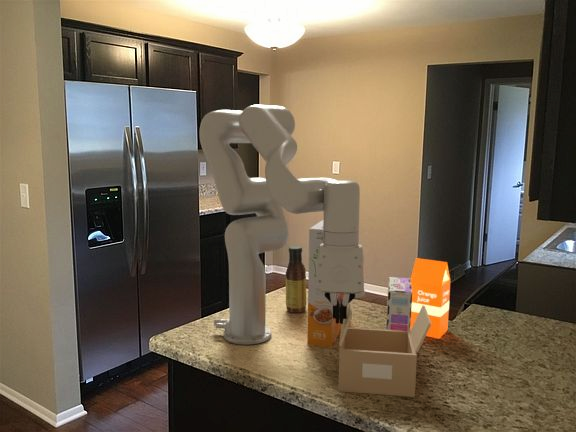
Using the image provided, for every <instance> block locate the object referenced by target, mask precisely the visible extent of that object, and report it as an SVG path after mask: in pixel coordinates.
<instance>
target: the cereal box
mask: <svg viewBox="0 0 576 432" xmlns="http://www.w3.org/2000/svg"><path fill="white" fill-rule="evenodd" d="M308 231H309V232H308V282H307V283H308V285H307V286H308V288H307V343H306V344H307V345H311V346H318V347H319V346H320V347H326V348H332V347H333V345H334V343H335V341H336V340H335V339H337V337H338V336H339V335H340V333H341V325H342V324H340V319H339V323H338V324H336V319H335V318H333V305H332V304H331V302H330V301H329V300H328V299H327V298H326V297H324V296H320V295H317V294H315V291H316V269H317V257H318V250H319V246H320V244H322V243H323V241H322V240H320V239H317V238H316V235H317V233H320V232H322V231H323V219H322V220H320V221H319V222H318V223H316V224H314V225H313V226H311V227H310V228H309V229H308ZM343 296H344V293H337V299H338V300H339V303H341V300H342V299H343ZM348 306H349V304H348V305H347V309H348ZM343 320H344V319H343Z"/></svg>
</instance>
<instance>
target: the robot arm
mask: <svg viewBox="0 0 576 432" xmlns="http://www.w3.org/2000/svg"><path fill="white" fill-rule="evenodd" d="M199 125H200V127H199V143H200V145H201V149H202V152H203V154H204V156H205V158H206V160H207V162H208V164H209V166H210V168H211V169H210V170H211V173H212V177H213V180H214V183H215V187H216V188H215V189H216V191H217V194H218V198H219V201H220V204H221V206H222V209H223V210H224V212H225V213H226V214H228V215H231V216H241V215H250V214H255V215H256V216H251V217H243V218H238V219H236V220H233V221H232V222H230V223H229V224H228V225H227V226H226V228H225V230H224V231H225V232H224V243H225V248H226V253H227V259H228V260H227V261H228V282H229V283H228V284H229V285H228V295H229V296H228V298H229V299H228V301H229V302H228V307H229V309H228V311H229V314H228V315H229V317H227V318H225V319H223V318H216V317H215V318H214V320H213V325H214V326H215V328H216V329H224V330H223V338H224V340H226V341H227V342H229V343H232V344H236V345H243V346H247V345H249V346H250V345H257V344H262V343H265V342H267V341H268V340H269V339H271V337H272V331H271V329H270V328H269V327H267V326H266V317H267V316H266V312H267V311H266V306H267V304H266V294H267V292H266V290H267V289H266V288H267V284H266V281H267V279H266V277H267V275H266V268H265V265H264V263H263V261H262V260H261V258H260V256H259V254H262V253H263V254H264V253H268V252H274V251H277V250H280V249H282V248H284V247H285V246H286V244H287V243H288V239H289V228H288V224H287V221H286V216H285V214H284V210H286V211H287V212H289V213H291V214H295V215H299V214H300V215H301V214H308V213H316V212H323V219H322V220H323V231H322V232H320V233H317V235H316V238H317V239H320V240H322V241H323V243H322V244H320V246H319V250H318V257H317V269H316V291H315V294H317V295H320V296H324V297H326V298H327V299H328V300H329V301H330V302H331V304H332V305H333V318H335V319H336V324H338V323H339V319H340V324H343V319H346V318H347V305H348V306H349V303H350V302H351V301H352V300H353V301H354V300H355V299H356V298H357V299H359V298H363V297H365V296H366V292H365V258H364V251H363V246H362V244H360V242H359V239H360V237H359V236H360V201H361V200H360V199H361V198H360V195H361V194H360V193H361V191H360V190H361V189H360V188H361V187H360V184H359V183H358V182H357V181H354V180H347V179H345V180H343V179H341V180H339V179H338V180H337V179H334V178H330V177H325V176H324V177H304V178H303V177H302V178H296V177H295V175H293V173H292V172H291V170H290V169H289V168H288V167H287V166H286V165H288V164H289V163H290V162H291V161H293V158H294V157H295V155H296V154H297V151H298V143H297V141H296V139H295V138H294V137H293V136H292V135H293V133H294V131H295V127H296V123H295V117H294V114H293V113H292V112H291V111H290V110H289V109H288V108H286V106H285V107H284V106H281V105H270V104H269V105H268V104H253V105H249V106H247V107H246V108H244V109H243V110H234V109H232V110H231V109H218V110H213V111H210V112H208V113H206V114H205V115H204V116H203V118H202V119H201V122H200V124H199ZM230 144H251V145H252V146H253V148H254V149H255V150H256V151H257V153H258V154H259V155H260V156H261V157H262V159H263V160H264V161H265V166H264V175H265V177H250V176H248V174H247V171H246V169H245V164H244V162H243V160H242V158H241V156H240V154H238V152H237V151H235V150H234V148H232V147H231V146H230ZM283 209H284V210H283ZM337 293H344V296H343V299H342V300H341V303H339V300H338V299H337Z"/></svg>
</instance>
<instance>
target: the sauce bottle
mask: <svg viewBox="0 0 576 432" xmlns="http://www.w3.org/2000/svg"><path fill="white" fill-rule="evenodd" d="M302 253H303V247H302V246H300V245H291V246H289V247H288V255H289V256H288V257H289V259H288V264H287V267H286V271H285V275H284V276H285V306H286V311H288V312H290V313H293V314H300V313H303V312H305V311H306V310H307V275H306V272H307V271H306V270H307V269H306V268H305V265H304V263H303V259H302Z"/></svg>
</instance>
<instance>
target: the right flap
mask: <svg viewBox="0 0 576 432" xmlns="http://www.w3.org/2000/svg"><path fill="white" fill-rule="evenodd" d="M430 326H431V321H430V318H429V316H428V313H427V310H426V308H425V306H424V305H423V306H422V308H421V310H420V312H419V314H418V316H417V318H416V320H415V322H414V324H413V326H412V328H411V330H410V332H411V336H412V340H413V344H414V348H415V351H416V353H418V352H419V351H420V348H421V346H422V344H423V342H424V340H425V338H426V337H427V336H426V334H427V332H428V330H429V328H430Z"/></svg>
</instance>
